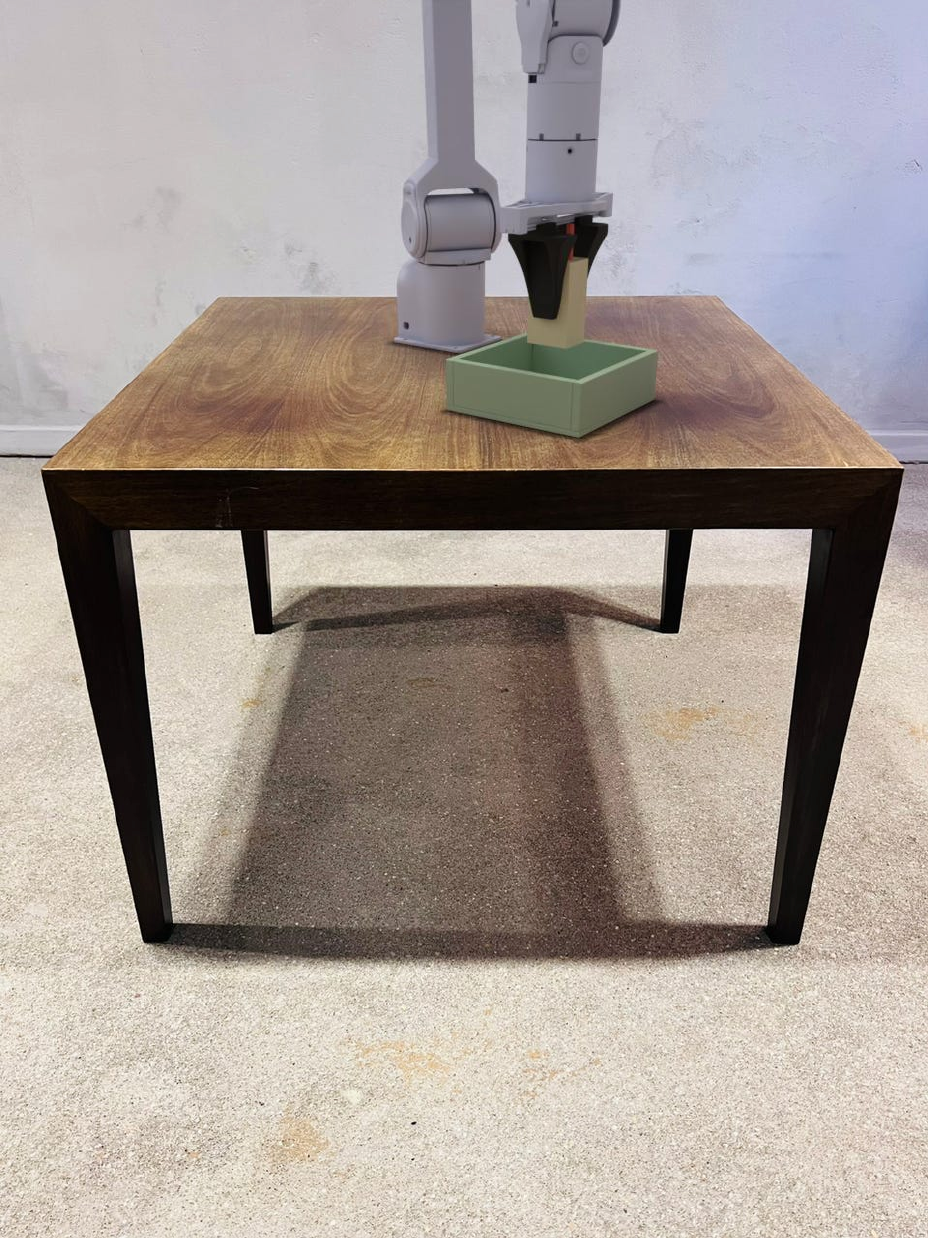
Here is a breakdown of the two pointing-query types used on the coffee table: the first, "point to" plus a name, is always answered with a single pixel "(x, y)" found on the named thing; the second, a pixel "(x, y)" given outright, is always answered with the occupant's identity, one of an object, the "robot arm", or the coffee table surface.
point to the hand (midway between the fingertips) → (555, 314)
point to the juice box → (564, 309)
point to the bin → (551, 383)
